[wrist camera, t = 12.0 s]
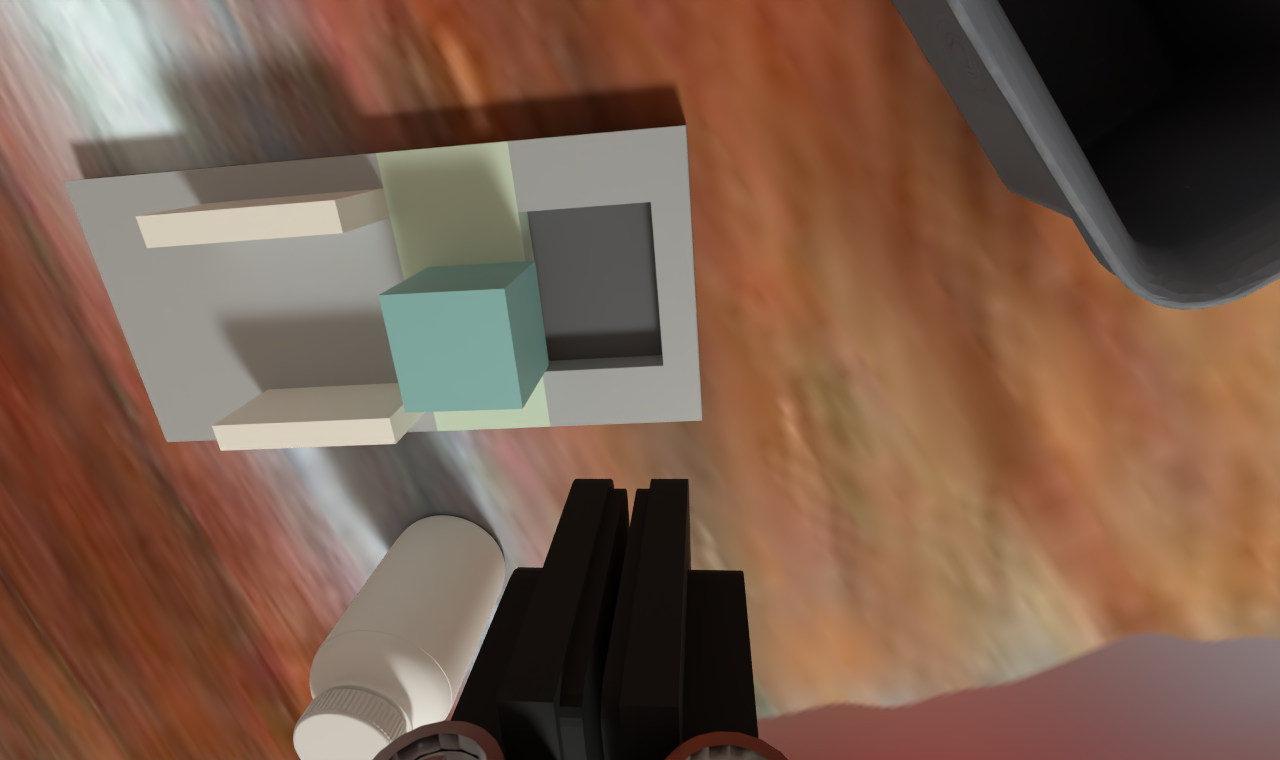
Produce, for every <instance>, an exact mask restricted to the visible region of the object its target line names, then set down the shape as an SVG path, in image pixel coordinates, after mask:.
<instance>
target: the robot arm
mask: <svg viewBox="0 0 1280 760" xmlns="http://www.w3.org/2000/svg"><path fill="white" fill-rule="evenodd" d="M373 760H788V759H787V758H786V757H785V756H784V755H783V754H782V753H781V752H780V751H778V750H777V749H775V748H774V747H772V746H770V745H769V744H767V743H766V742H764V741H763V740H761V739H758V728H757V716H756V705H755V694H754V683H753V672H752V661H751V650H750V639H749V628H748V616H747V605H746V594H745V583H744V574H743V571H725V570H691V552H690V515H689V483H688V479H651V483H650V489H637V490H636V495H635V501H634V506H633V512H632V518H631V523H630V526H629V511H628V497H627V490H626V489H614V484H613V480H612V479H575V480H574V482H573V484H572V487H571V489H570V492H569V495H568V498H567V501H566V504H565V506H564V509H563V512H562V515H561V518H560V520H559V523H558V526H557V529H556V532H555V535H554V537H553V540H552V543H551V546H550V549H549V552H548V554H547V557H546V560H545V563H544V566H543V568H525V567H518V568H517V569H515V570H514V572H513V573H512V575H511V577H510V579H509V582H508V584H507V586H506V589H505V591H504V594H503V596H502V598H501V601H500V603H499V606H498V608H497V610H496V613H495V615H494V618H493V620H492V622H491V625H490V627H489V630H488V632H487V634H486V637H485V639H484V642H483V644H482V646H481V649H480V651H479V654H478V656H477V658H476V661H475V663H474V666H473V668H472V670H471V673H470V675H469V678H468V680H467V682H466V685H465V687H464V690H463V692H462V694H461V697H460V699H459V702H458V704H457V706H456V709H455V711H454V714H453V716H452V718H451V721H440V722H436V723H431V724H427V725H423V726H420V727H418V728H416V729H414V730H412V731H410V732H407V733H405V734H403V735H401V736H399V737H398V738H397V739H395V740H394V741H393V742H391V743H390V744H389V745H387V746H386V747H385V748H383V749H382V750H381V751H380V752H379V753H378V754H377V755H376V756H375V757H374V758H373Z"/></svg>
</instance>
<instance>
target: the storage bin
mask: <svg viewBox="0 0 1280 760" xmlns="http://www.w3.org/2000/svg"><path fill="white" fill-rule="evenodd" d="M892 2H893V4H894V5H895V7H896V8H897V10H898V12H899V13H900V15H901V17H902V18H903V20H904V22H905V23H906V25H907V26H908V28H909V30H910V31H911V33H912V35H913V36H914V38H915V40H916V41H917V43H918V45H919V46H920V48H921V50H922V51H923V53H924V54H925V56H926V58H927V59H928V61H929V63H930V64H931V66H932V67H933V69H934V71H935V72H936V74H937V75H938V77H939V79H940V80H941V82H942V83H943V85H944V87H945V88H946V90H947V91H948V93H949V95H950V96H951V98H952V99H953V101H954V102H955V104H956V106H957V107H958V109H959V110H960V112H961V114H962V115H963V117H964V118H965V120H966V122H967V123H968V125H969V126H970V128H971V130H972V131H973V133H974V134H975V136H976V138H977V139H978V141H979V143H980V144H981V146H982V148H983V149H984V151H985V153H986V154H987V156H988V158H989V159H990V161H991V163H992V164H993V166H994V168H995V170H996V171H997V173H998V175H999V176H1000V178H1001V180H1002V182H1003V183H1004V185H1005V186H1006V188H1007V189H1008V190H1010V191H1011V192H1012V193H1014V194H1016V195H1019V196H1021V197H1023V198H1026V199H1028V200H1030V201H1033V202H1035V203H1037V204H1040V205H1042V206H1044V207H1047V208H1049V209H1051V210H1054V211H1056V212H1058V213H1060V214H1063V215H1065V216H1067V217H1069V218H1071V219H1073V221H1074V223H1075V225H1076V226H1077V228H1078V230H1079V231H1080V233H1081V235H1082V236H1083V238H1084V240H1085V241H1086V243H1087V245H1088V246H1089V248H1090V250H1091V251H1092V253H1093V254H1094V256H1095V257H1096V258H1097V260H1098V261H1099V263H1100V264H1101V265H1103V266H1104V267H1105V268H1106V269H1107V270H1108V271H1109V272H1111V273H1112V274H1114V275H1116V276H1117V277H1118V278H1119V279H1120V280H1121V282H1122V283H1123V284H1124V285H1125V286H1126V287H1127V288H1128V289H1130V290H1131V291H1132V292H1134V293H1135V294H1137V295H1138V296H1139V297H1141V298H1143V299H1145V300H1148V301H1150V302H1152V303H1154V304H1156V305H1159V306H1163V307H1168V308H1174V309H1181V310H1187V309H1203V308H1208V307H1213V306H1218V305H1223V304H1226V303H1229V302H1231V301H1234V300H1237V299H1240V298H1243V297H1246V296H1247V295H1249V294H1251V293H1253V292H1255V291H1257V290H1259V289H1260V288H1262V287H1264V286H1266V285H1268V284H1270V283H1271V282H1273V281H1275V280H1277V279H1279V278H1280V0H892Z"/></svg>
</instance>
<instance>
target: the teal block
mask: <svg viewBox="0 0 1280 760" xmlns="http://www.w3.org/2000/svg"><path fill="white" fill-rule="evenodd" d="M379 300H380V304H381V309H382V313H383V317H384V322H385V326H386V331H387V335H388V340H389V344H390V348H391V353H392V357H393V362H394V366H395V370H396V375H397V379H398V384H399V388H400V392H401V397H402V401H403V406H404V410H405V413H410V412H442V411H473V410H505V409H523V408H524V406H525V404H526V403H527V401H528V399H529V398H530V396H531V394H532V393H533V391H534V389H535V388H536V386H537V384H538V383H539V381H540V379H541V378H542V376H543V374H544V373H545V371H546V369H547V368H548V366H549V362H548V354H547V347H546V339H545V332H544V324H543V317H542V309H541V302H540V294H539V287H538V279H537V272H536V264H535V261H527V262H509V263H491V264H474V265H456V266H438V267H427V268H426V269H424V270H422V271H420V272H418V273H417V274H415V275H413V276H411V277H410V278H408V279H406V280H404V281H403V282H401V283H399V284H397V285H396V286H394V287H392V288H390V289H388V290H387V291H385V292H383V293H381V294H380V295H379Z"/></svg>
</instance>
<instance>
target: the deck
mask: <svg viewBox="0 0 1280 760" xmlns="http://www.w3.org/2000/svg"><path fill="white" fill-rule="evenodd" d="M64 184H65V186H66V189H67V191H68V194H69V196H70V199H71V201H72V204H73V206H74V209H75V211H76V214H77V216H78V219H79V221H80V224H81V226H82V229H83V231H84V234H85V237H86V239H87V242H88V244H89V247H90V249H91V252H92V254H93V257H94V259H95V262H96V264H97V267H98V269H99V272H100V274H101V277H102V279H103V282H104V284H105V287H106V290H107V292H108V295H109V297H110V300H111V302H112V305H113V307H114V310H115V312H116V315H117V317H118V320H119V322H120V325H121V327H122V330H123V332H124V335H125V337H126V340H127V342H128V345H129V348H130V350H131V353H132V355H133V358H134V360H135V363H136V365H137V368H138V370H139V373H140V375H141V378H142V380H143V383H144V385H145V388H146V390H147V393H148V395H149V398H150V400H151V403H152V406H153V408H154V411H155V413H156V416H157V418H158V421H159V423H160V426H161V428H162V431H163V433H164V436H165V438H166V441H167V442H178V441H203V440H217V442H218V444H219V447H220V450H221V451H223V450H249V449H275V448H301V447H327V446H354V445H380V444H396V443H397V442H398V441H399V440H400V439H401V438H402V437H403V436H404V434H405V433H406V432H426V431H451V430H476V429H501V428H526V427H551V426H576V425H600V424H625V423H650V422H675V421H700V420H702V396H701V378H700V360H699V342H698V324H697V305H696V287H695V269H694V251H693V233H692V214H691V196H690V178H689V160H688V142H687V125H678V126H667V127H656V128H645V129H634V130H623V131H612V132H601V133H590V134H578V135H567V136H556V137H545V138H534V139H523V140H512V141H501V142H490V143H479V144H468V145H457V146H445V147H434V148H423V149H412V150H401V151H390V152H379V153H368V154H357V155H346V156H335V157H324V158H312V159H301V160H290V161H279V162H268V163H257V164H246V165H235V166H224V167H213V168H202V169H191V170H180V171H168V172H157V173H146V174H135V175H124V176H113V177H102V178H92V179H82V180H73V181H64ZM527 261H535V264H536V272H537V279H538V287H539V294H540V302H541V309H542V317H543V324H544V332H545V339H546V347H547V354H548V362H549V366H548V368H547V369H546V371H545V373H544V374H543V376H542V378H541V379H540V381H539V383H538V384H537V386H536V388H535V389H534V391H533V393H532V394H531V396H530V398H529V399H528V401H527V403H526V404H525V406H524V408H523V409H505V410H473V411H442V412H410V413H405V410H404V406H403V401H402V397H401V392H400V388H399V384H398V379H397V375H396V370H395V366H394V362H393V357H392V353H391V348H390V344H389V340H388V335H387V331H386V326H385V322H384V317H383V313H382V309H381V304H380V300H379V295H380V294H381V293H383V292H385V291H387V290H388V289H390V288H392V287H394V286H396V285H397V284H399V283H401V282H403V281H404V280H406V279H408V278H410V277H411V276H413V275H415V274H417V273H418V272H420V271H422V270H424V269H426V268H427V267H438V266H456V265H474V264H491V263H509V262H527Z"/></svg>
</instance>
